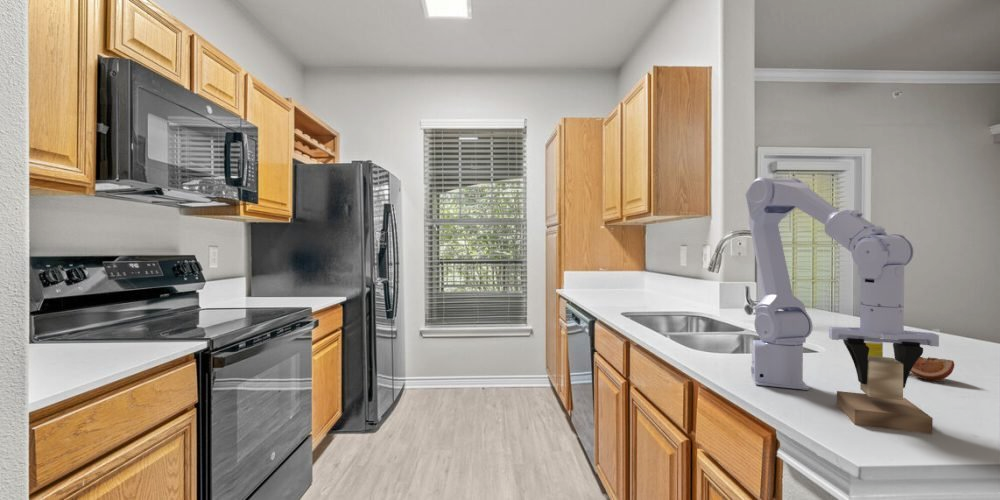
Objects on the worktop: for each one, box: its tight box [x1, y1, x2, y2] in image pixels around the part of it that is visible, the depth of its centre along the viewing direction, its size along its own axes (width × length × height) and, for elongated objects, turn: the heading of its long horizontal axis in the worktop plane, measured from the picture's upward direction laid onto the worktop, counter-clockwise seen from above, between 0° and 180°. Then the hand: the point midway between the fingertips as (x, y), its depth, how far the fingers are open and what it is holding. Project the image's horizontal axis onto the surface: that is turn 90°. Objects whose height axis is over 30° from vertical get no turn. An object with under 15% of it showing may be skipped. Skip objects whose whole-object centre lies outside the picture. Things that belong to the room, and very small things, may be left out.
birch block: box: [859, 356, 904, 400], centre depth 78 cm, size 4×4×6 cm
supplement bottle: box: [864, 337, 884, 357], centre depth 111 cm, size 5×5×8 cm
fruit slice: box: [910, 356, 955, 381], centre depth 101 cm, size 8×7×5 cm
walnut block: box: [836, 390, 934, 435], centre depth 78 cm, size 10×10×3 cm
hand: (880, 384), depth 78 cm, fingers closed on birch block, 4 cm apart
